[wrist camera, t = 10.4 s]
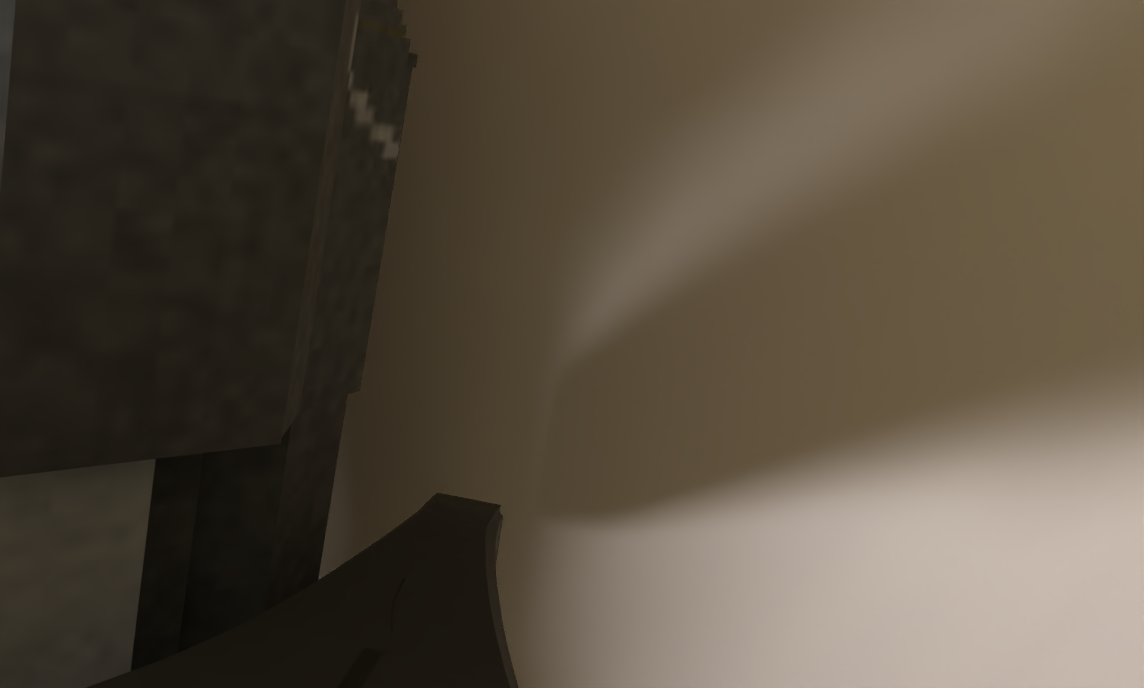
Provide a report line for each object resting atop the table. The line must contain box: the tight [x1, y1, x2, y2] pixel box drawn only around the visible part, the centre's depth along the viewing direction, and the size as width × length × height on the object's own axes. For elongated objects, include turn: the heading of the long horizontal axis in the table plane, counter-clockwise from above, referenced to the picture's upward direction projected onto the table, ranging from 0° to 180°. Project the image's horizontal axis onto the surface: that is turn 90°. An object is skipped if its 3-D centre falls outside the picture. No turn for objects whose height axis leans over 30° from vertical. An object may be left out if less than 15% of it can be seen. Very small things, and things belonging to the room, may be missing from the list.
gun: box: [0, 0, 418, 688], centre depth 11 cm, size 4×20×10 cm
